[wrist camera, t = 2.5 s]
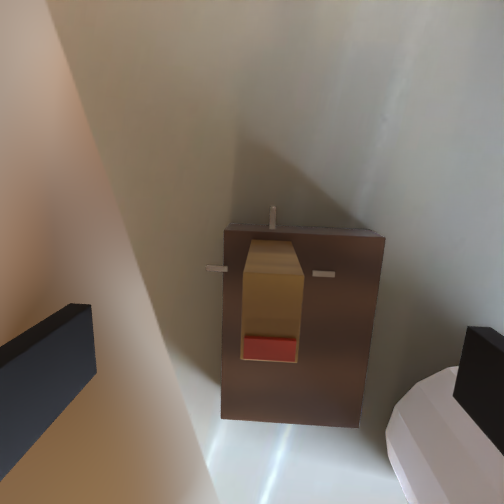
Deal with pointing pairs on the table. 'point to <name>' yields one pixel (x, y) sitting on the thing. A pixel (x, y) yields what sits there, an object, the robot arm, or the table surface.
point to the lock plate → (305, 328)
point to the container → (442, 448)
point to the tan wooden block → (271, 302)
